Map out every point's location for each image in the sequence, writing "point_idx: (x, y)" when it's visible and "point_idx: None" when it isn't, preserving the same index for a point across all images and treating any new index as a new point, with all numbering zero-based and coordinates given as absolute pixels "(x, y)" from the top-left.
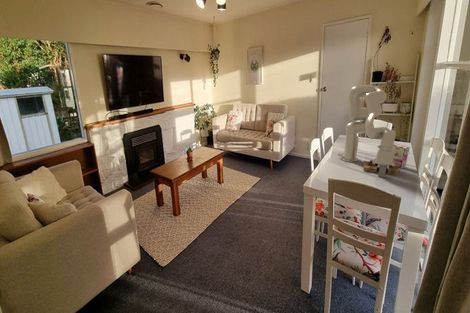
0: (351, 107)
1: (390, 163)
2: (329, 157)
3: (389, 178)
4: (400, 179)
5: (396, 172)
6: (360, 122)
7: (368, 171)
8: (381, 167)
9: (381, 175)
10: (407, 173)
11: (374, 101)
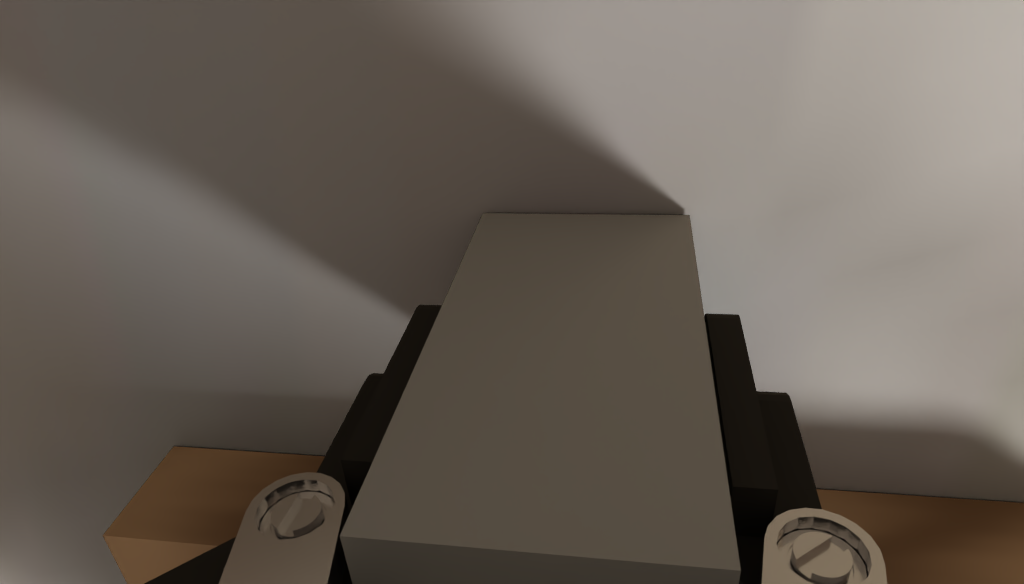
0: None
1: None
2: None
3: (342, 191)
4: (69, 220)
5: (181, 509)
6: None
7: (930, 504)
8: (632, 496)
9: (584, 240)
10: (52, 569)
11: None
